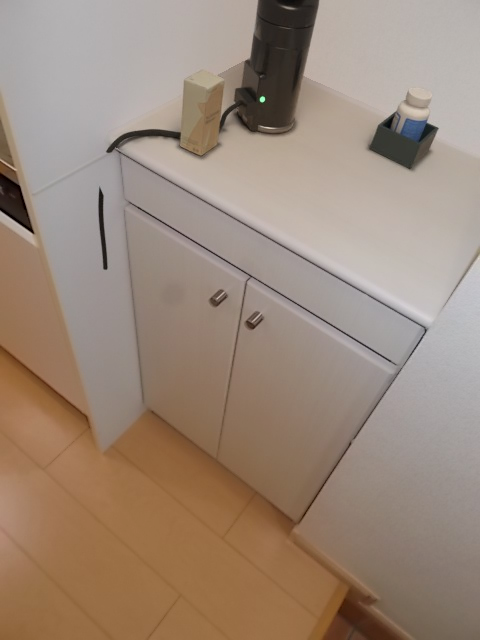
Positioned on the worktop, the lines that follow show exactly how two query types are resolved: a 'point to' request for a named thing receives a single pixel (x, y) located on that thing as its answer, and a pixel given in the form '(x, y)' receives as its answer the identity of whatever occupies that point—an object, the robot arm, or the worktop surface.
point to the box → (201, 111)
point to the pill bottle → (412, 113)
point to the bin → (402, 143)
